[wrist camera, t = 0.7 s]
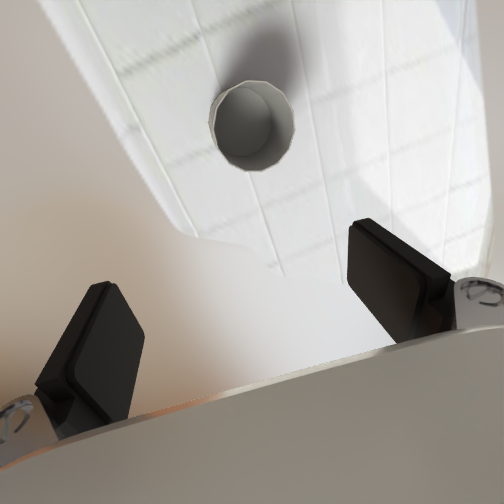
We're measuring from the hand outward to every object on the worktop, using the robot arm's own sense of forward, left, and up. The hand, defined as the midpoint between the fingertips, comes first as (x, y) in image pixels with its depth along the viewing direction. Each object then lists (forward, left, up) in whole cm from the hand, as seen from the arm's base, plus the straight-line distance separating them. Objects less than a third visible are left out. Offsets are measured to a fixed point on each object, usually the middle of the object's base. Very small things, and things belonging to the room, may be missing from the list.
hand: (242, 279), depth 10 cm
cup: (-6, 0, -30) cm, 30 cm away
